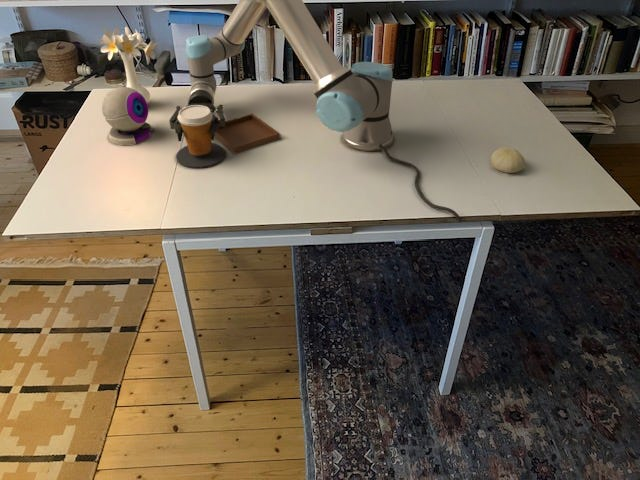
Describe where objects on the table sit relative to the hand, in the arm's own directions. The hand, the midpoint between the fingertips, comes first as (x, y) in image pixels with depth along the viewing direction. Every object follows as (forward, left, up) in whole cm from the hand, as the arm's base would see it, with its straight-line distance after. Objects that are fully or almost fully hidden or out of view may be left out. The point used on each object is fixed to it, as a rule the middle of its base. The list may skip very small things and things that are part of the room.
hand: (195, 136), depth 149 cm
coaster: (+4, -2, -9) cm, 10 cm away
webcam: (+28, +10, -9) cm, 31 cm away
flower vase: (+46, 0, -9) cm, 47 cm away
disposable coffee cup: (+4, -2, -7) cm, 9 cm away
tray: (+8, -19, -9) cm, 22 cm away
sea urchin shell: (-51, -70, -9) cm, 87 cm away
